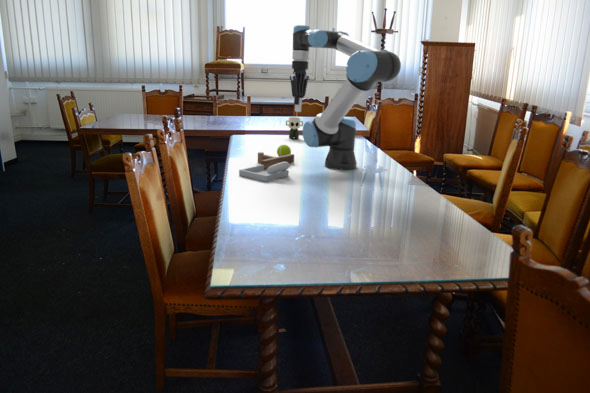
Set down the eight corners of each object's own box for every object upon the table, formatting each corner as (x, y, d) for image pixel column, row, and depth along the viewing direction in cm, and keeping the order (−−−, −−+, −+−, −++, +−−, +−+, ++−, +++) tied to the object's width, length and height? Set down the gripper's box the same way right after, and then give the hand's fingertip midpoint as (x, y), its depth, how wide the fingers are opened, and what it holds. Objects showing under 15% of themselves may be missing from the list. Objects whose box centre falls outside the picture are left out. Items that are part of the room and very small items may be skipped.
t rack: (293, 162, 233) (294, 152, 232) (264, 169, 216) (264, 159, 215) (274, 158, 240) (274, 149, 239) (244, 165, 223) (244, 155, 222)
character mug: (285, 139, 297) (286, 118, 293) (284, 137, 304) (285, 116, 300) (302, 139, 298) (303, 118, 294) (301, 137, 304) (302, 117, 301)
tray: (288, 175, 207) (288, 170, 207) (265, 182, 196) (266, 176, 195) (262, 169, 216) (262, 164, 215) (239, 175, 204) (239, 169, 203)
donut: (284, 162, 210) (290, 158, 200) (286, 170, 210) (293, 166, 200) (263, 169, 207) (268, 165, 197) (266, 176, 207) (271, 173, 197)
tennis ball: (278, 160, 238) (279, 146, 236) (275, 157, 244) (275, 143, 242) (292, 159, 239) (292, 146, 237) (288, 156, 246) (289, 143, 244)
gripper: (301, 60, 230) (299, 109, 237) (285, 59, 220) (283, 111, 227) (314, 61, 226) (312, 111, 233) (298, 60, 216) (296, 113, 223)
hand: (298, 111), depth 230 cm, fingers closed
